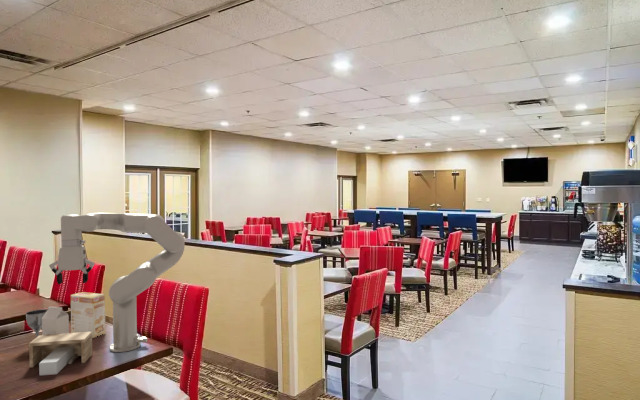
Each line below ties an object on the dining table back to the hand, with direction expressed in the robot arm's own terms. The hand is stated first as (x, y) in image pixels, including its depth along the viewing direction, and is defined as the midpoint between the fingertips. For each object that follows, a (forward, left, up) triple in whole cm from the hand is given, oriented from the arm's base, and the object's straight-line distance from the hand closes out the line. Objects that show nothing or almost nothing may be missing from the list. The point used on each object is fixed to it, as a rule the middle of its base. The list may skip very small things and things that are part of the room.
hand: (72, 283), depth 178 cm
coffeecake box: (+2, -24, -31) cm, 39 cm away
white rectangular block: (+2, +13, -31) cm, 33 cm away
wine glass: (+20, -14, -31) cm, 39 cm away
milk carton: (+9, -5, -31) cm, 32 cm away
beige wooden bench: (+2, +8, -30) cm, 31 cm away
